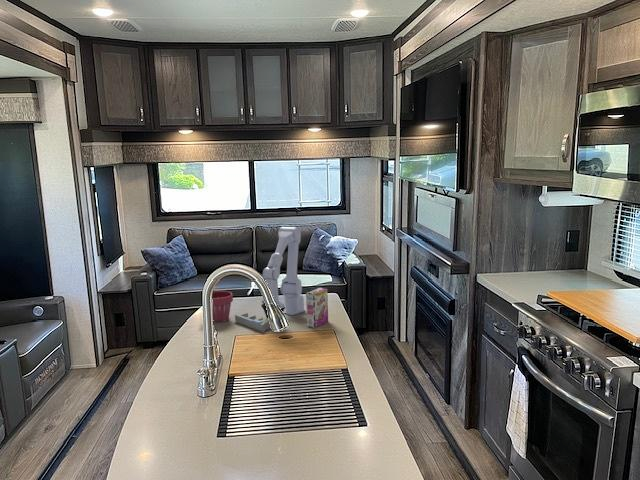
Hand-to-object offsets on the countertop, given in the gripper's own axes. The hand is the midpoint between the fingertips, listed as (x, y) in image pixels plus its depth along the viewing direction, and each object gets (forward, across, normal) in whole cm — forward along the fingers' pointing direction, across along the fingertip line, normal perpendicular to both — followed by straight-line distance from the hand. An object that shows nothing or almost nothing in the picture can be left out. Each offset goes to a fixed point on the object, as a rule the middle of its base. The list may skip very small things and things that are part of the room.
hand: (273, 319), depth 227 cm
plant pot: (+2, -27, -13) cm, 30 cm away
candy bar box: (+2, +17, +13) cm, 22 cm away
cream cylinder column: (+2, 0, -2) cm, 3 cm away
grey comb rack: (+2, -6, -8) cm, 10 cm away
